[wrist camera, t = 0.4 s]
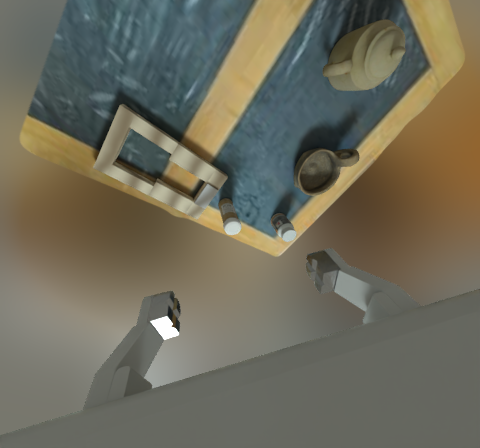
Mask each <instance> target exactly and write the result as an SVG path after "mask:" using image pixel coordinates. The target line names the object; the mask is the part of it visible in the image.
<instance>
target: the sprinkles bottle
mask: <svg viewBox="0 0 480 448" xmlns="http://www.w3.org/2000/svg"><path fill="white" fill-rule="evenodd" d="M219 209H220V213H221V217H222V220H223V223H224V225H223V226H224V230H225V232H226V233H227V234H229V235H235V234H237V233H238V232H239V231H240V230H241V223H240V221H239V220H238V217H237V214H236V211H235V209H234V206H233V203H232V201H231V200H230V199H227V198H226V199H222V200H221V201H220V202H219Z"/></svg>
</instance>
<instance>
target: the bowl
mask: <svg viewBox="0 0 480 448" xmlns="http://www.w3.org/2000/svg"><path fill="white" fill-rule="evenodd" d="M358 161H359V153H358V151H357V150H354V149H342V150H337V151H333V152H332V151H330V150H327V149H325V148H316V149H312V150H309V151H307V152H304V153H303V154H302V156H301V157H300V159H299V161H298V162H297V164H296V167H295V170H294V185H295V186H296V187H297V188H299V189H300V190H302V191H303V192H304V193H305V194H307V195H319V194H322V193H324V192H326V191H327V190H329V189H330V188H331V187H332V186H333V185H334V184H335V183H336V181H337V179H338V177H339V174H340V167H347V166H352V165H354V164H356V163H357V162H358Z"/></svg>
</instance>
